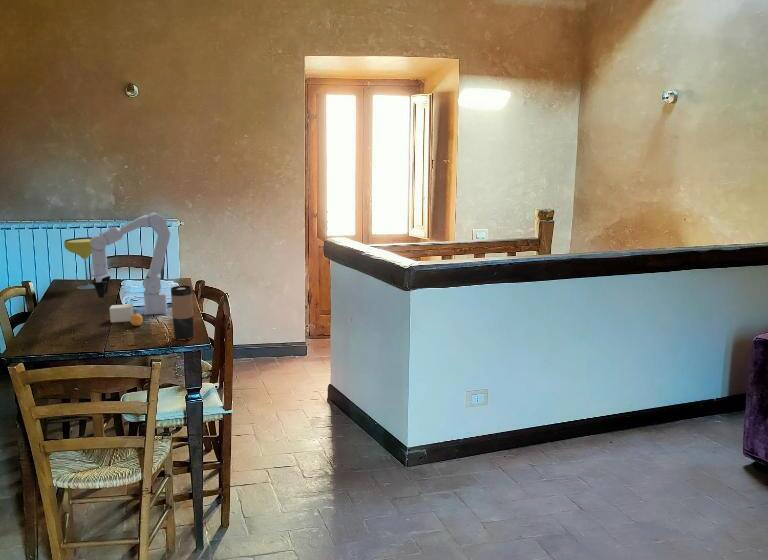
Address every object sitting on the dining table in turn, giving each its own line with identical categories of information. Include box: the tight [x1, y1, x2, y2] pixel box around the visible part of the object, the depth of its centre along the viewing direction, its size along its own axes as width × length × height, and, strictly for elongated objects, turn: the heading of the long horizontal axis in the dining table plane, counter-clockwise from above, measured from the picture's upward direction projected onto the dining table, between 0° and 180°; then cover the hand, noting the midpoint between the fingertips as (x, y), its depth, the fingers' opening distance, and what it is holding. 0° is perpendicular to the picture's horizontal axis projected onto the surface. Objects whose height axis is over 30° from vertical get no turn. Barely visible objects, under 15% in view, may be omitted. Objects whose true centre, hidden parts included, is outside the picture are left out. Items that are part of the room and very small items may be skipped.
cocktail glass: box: [63, 236, 96, 291], centre depth 361 cm, size 18×18×25 cm
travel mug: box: [170, 285, 195, 340], centre depth 269 cm, size 8×8×20 cm
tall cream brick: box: [109, 303, 135, 323], centre depth 298 cm, size 9×6×6 cm
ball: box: [129, 313, 144, 326], centre depth 289 cm, size 5×5×5 cm
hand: (103, 295), depth 300 cm, fingers open, 7 cm apart
